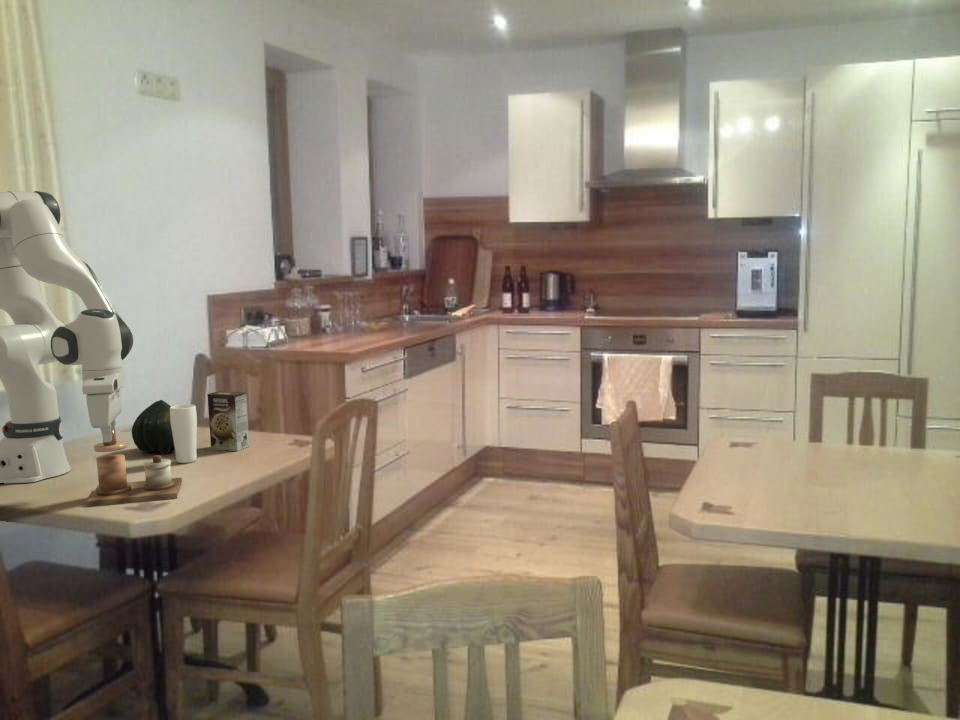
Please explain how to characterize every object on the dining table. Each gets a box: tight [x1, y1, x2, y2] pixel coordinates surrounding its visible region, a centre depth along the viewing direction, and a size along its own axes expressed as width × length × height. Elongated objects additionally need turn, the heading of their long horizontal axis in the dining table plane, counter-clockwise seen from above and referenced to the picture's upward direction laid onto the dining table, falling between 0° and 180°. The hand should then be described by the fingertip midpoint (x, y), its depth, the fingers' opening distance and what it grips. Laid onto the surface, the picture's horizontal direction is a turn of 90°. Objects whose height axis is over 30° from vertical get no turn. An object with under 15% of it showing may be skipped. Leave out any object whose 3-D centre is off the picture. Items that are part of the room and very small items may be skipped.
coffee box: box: [207, 390, 250, 452], centre depth 245 cm, size 9×6×16 cm
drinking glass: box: [170, 403, 198, 464], centre depth 231 cm, size 7×7×15 cm
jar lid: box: [93, 428, 127, 453], centre depth 199 cm, size 7×7×4 cm
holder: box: [86, 453, 183, 507], centre depth 201 cm, size 19×14×9 cm
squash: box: [131, 399, 175, 455], centre depth 245 cm, size 14×15×15 cm
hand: (109, 439), depth 199 cm, fingers closed on jar lid, 3 cm apart
